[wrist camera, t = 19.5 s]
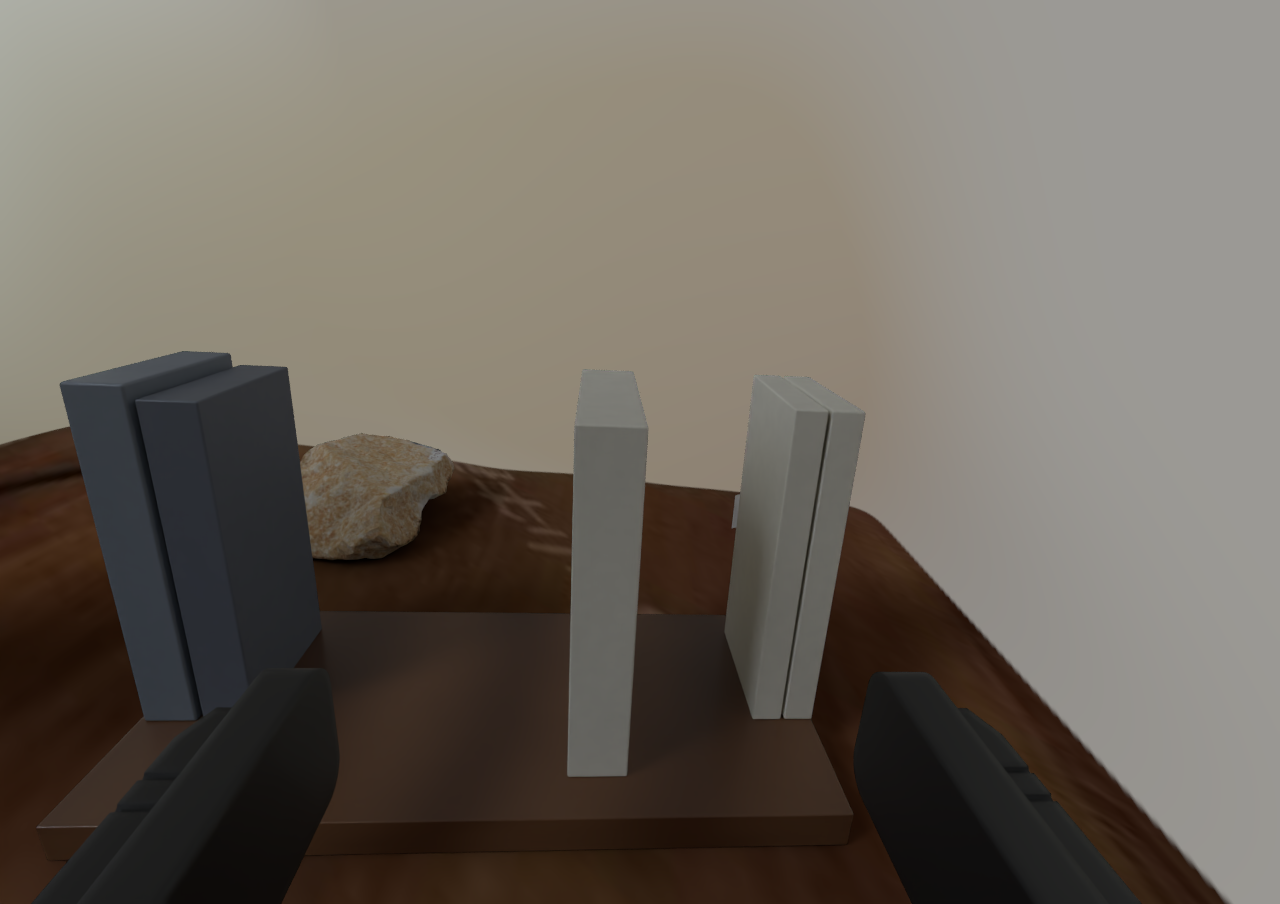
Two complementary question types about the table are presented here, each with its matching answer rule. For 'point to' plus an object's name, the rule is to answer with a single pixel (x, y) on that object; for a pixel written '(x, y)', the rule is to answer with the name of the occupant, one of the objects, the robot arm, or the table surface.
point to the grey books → (198, 523)
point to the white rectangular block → (605, 570)
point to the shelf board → (523, 745)
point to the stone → (369, 494)
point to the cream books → (789, 539)
